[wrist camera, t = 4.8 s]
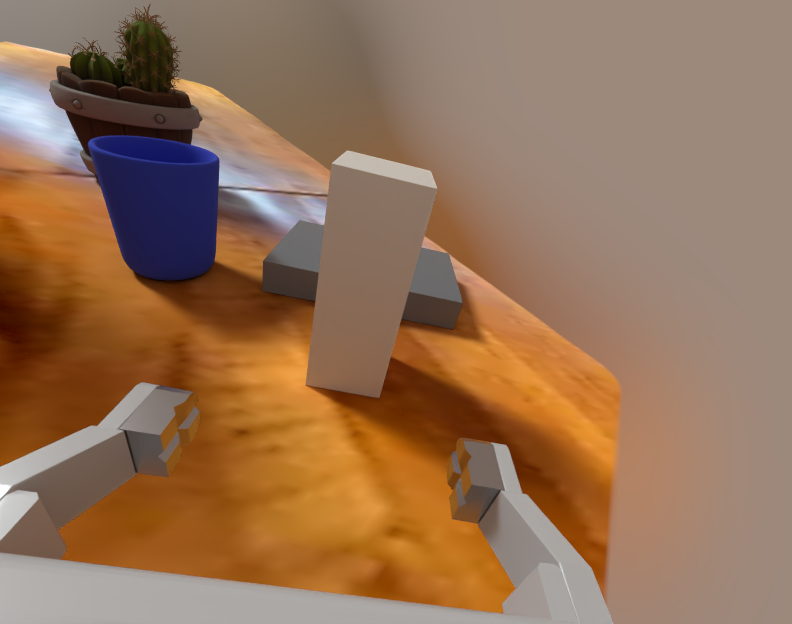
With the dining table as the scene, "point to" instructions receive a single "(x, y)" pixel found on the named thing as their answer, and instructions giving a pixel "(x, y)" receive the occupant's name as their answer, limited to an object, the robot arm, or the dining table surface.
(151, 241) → the mug
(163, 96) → the flowerpot
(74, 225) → the dining table surface
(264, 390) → the dining table surface
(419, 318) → the block
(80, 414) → the dining table surface
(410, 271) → the block
